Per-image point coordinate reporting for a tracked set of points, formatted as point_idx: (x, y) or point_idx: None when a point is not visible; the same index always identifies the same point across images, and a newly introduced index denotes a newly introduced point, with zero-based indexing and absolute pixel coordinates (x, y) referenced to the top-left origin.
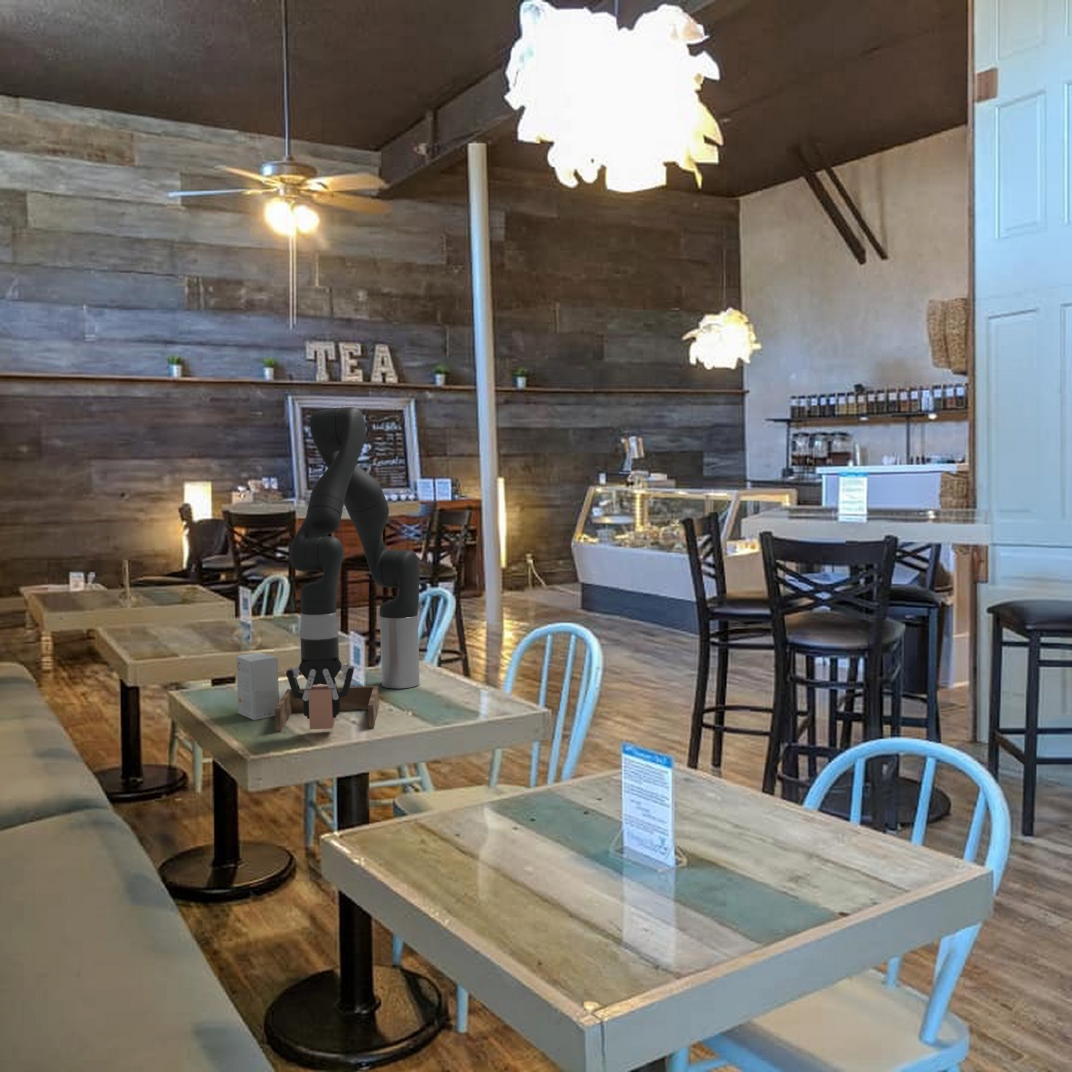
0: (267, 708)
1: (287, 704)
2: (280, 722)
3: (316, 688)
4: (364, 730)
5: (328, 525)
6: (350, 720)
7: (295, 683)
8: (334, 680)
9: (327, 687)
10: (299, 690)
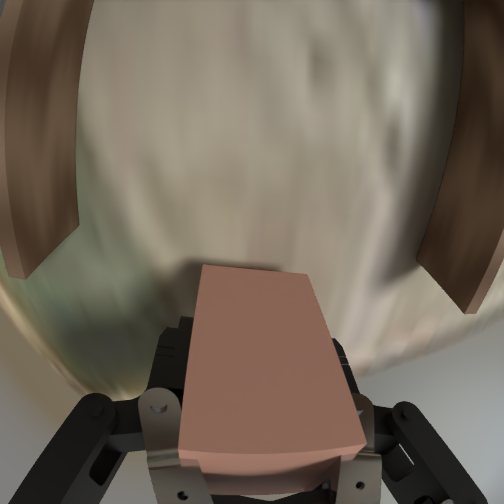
0: (1, 5)
1: (51, 6)
2: (60, 242)
3: (230, 485)
4: (396, 276)
5: None
6: (383, 110)
7: (98, 500)
8: (369, 488)
9: (303, 479)
10: (106, 434)
